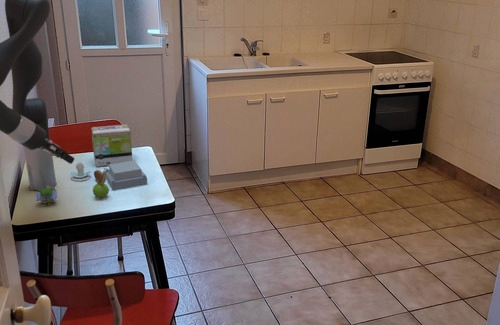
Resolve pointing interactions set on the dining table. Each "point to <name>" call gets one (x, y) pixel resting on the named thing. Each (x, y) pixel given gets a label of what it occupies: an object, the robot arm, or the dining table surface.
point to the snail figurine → (100, 184)
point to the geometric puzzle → (46, 194)
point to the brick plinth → (126, 181)
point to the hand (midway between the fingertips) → (66, 158)
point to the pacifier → (80, 173)
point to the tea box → (111, 144)
